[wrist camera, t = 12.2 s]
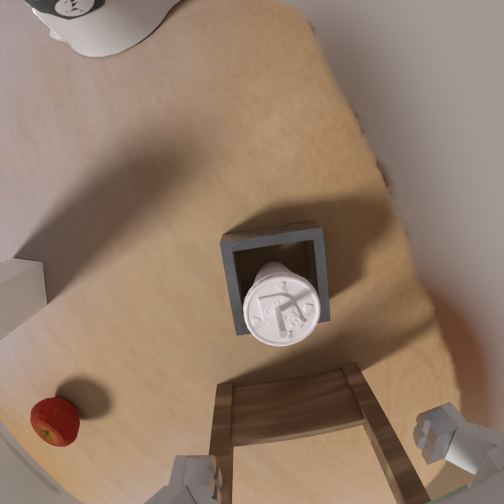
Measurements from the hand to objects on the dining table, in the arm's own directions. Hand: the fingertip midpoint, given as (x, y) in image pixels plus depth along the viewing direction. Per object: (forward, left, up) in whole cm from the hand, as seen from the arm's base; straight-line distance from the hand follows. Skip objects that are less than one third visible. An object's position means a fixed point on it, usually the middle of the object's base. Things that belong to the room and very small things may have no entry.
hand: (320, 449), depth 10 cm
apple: (+18, -35, -25) cm, 47 cm away
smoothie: (+1, 0, -25) cm, 25 cm away
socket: (0, 0, -25) cm, 25 cm away
